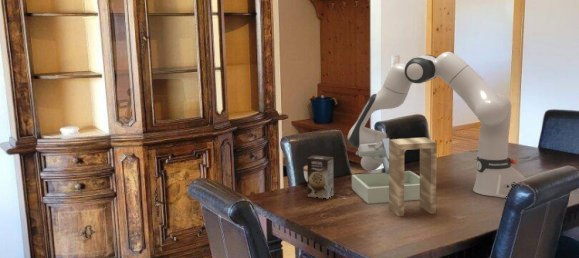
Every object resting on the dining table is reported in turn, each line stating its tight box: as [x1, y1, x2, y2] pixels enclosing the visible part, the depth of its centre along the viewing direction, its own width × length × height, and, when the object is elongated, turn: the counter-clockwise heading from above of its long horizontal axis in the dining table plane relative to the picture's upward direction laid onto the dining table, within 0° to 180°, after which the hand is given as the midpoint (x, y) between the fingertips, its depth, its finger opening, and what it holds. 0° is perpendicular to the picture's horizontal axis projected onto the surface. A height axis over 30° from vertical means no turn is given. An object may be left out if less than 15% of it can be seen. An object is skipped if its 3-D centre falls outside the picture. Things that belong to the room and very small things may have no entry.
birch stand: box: [388, 136, 438, 217], centre depth 198 cm, size 14×10×26 cm
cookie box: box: [306, 154, 334, 200], centre depth 221 cm, size 9×6×16 cm
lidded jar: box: [303, 165, 308, 183], centre depth 239 cm, size 11×11×9 cm
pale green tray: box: [351, 170, 420, 205], centre depth 222 cm, size 26×22×6 cm
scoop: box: [381, 137, 406, 174], centre depth 220 cm, size 7×16×3 cm
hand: (387, 142), depth 223 cm, fingers closed on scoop, 3 cm apart
